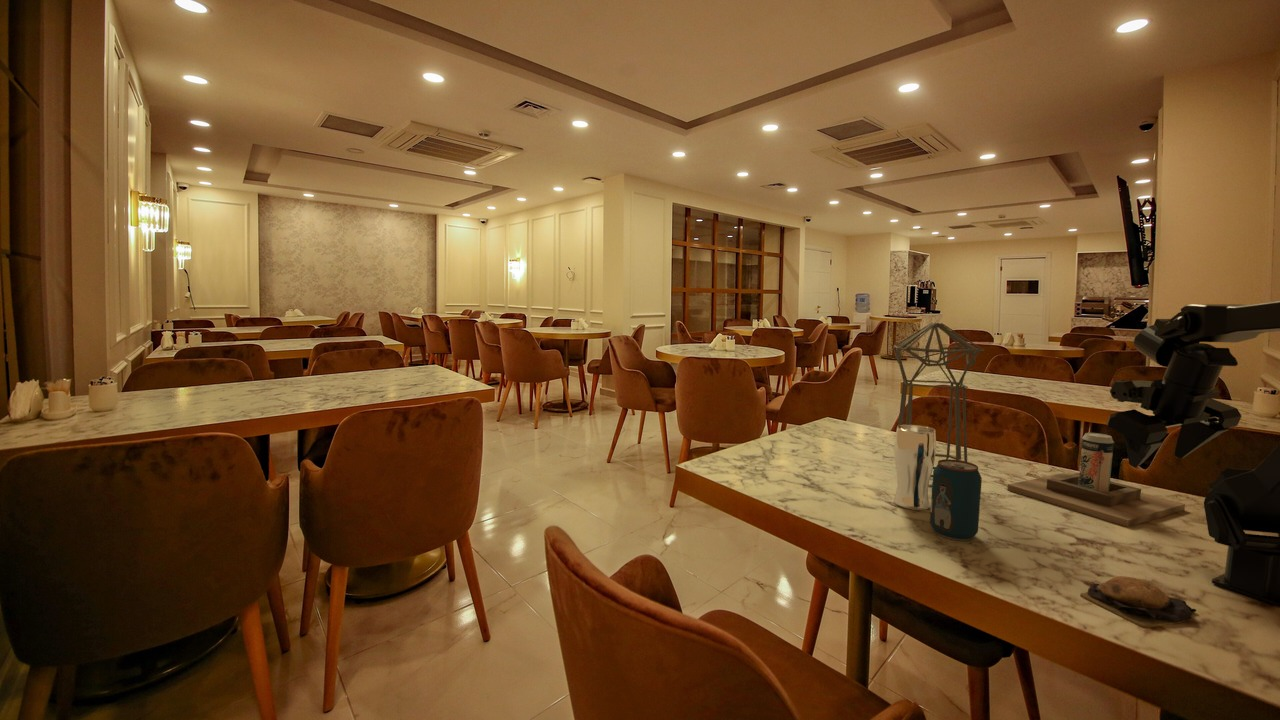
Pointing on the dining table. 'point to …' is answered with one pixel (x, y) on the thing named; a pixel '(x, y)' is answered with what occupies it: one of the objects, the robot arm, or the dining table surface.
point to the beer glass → (914, 465)
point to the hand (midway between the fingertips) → (1155, 461)
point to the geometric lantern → (967, 349)
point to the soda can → (955, 499)
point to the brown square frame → (1098, 499)
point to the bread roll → (1138, 602)
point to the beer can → (1096, 461)
